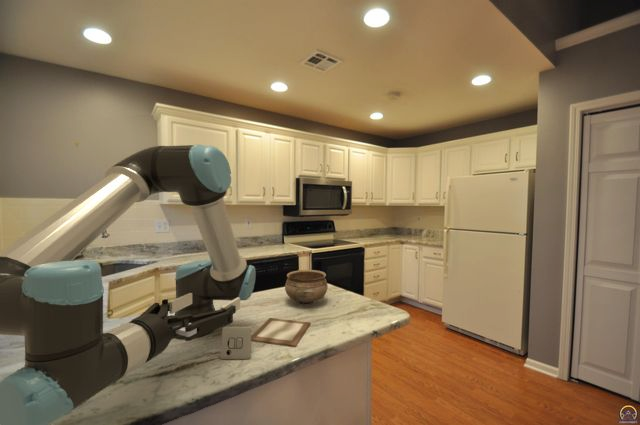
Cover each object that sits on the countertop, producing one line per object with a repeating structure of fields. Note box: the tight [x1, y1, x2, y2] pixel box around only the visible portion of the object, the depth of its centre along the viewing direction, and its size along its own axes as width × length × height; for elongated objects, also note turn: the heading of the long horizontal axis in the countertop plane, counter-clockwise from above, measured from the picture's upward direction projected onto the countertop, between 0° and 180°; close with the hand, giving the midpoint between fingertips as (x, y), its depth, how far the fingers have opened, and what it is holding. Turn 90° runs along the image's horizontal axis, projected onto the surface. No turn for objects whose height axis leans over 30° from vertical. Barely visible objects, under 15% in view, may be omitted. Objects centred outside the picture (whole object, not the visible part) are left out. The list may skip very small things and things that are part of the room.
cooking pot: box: [284, 269, 328, 305], centre depth 117 cm, size 25×19×12 cm
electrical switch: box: [219, 326, 253, 360], centre depth 75 cm, size 8×5×8 cm, turn 90°
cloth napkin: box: [251, 317, 311, 348], centre depth 89 cm, size 16×16×1 cm
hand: (214, 300), depth 65 cm, fingers open, 13 cm apart
